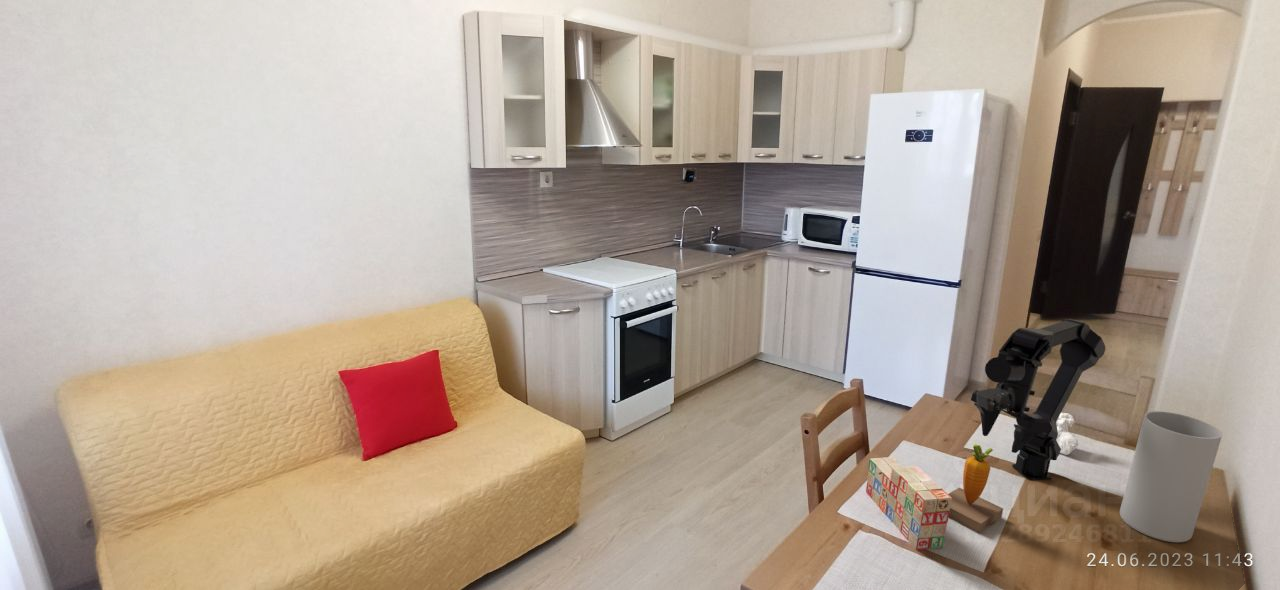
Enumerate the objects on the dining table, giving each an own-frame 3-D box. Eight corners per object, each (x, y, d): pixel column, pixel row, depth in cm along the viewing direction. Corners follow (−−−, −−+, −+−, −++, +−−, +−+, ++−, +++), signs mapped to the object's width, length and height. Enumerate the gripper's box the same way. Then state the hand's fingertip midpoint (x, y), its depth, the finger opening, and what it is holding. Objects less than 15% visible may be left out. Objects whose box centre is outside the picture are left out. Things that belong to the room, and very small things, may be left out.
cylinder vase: (1117, 527, 133) (1144, 425, 127) (1119, 502, 142) (1144, 406, 136) (1192, 552, 125) (1224, 445, 119) (1189, 524, 135) (1219, 423, 128)
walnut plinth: (957, 496, 143) (959, 487, 143) (1001, 518, 135) (1003, 508, 135) (934, 510, 138) (936, 500, 137) (978, 533, 130) (980, 523, 129)
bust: (1074, 465, 163) (1099, 431, 163) (1062, 453, 160) (1087, 419, 160) (1033, 444, 174) (1056, 413, 174) (1021, 432, 171) (1044, 400, 171)
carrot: (983, 503, 137) (996, 444, 133) (979, 513, 133) (992, 453, 129) (959, 495, 140) (971, 437, 136) (955, 504, 136) (967, 445, 132)
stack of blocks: (864, 492, 145) (870, 446, 142) (888, 490, 146) (895, 445, 142) (916, 551, 124) (924, 499, 121) (943, 548, 125) (952, 497, 122)
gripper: (961, 365, 148) (943, 424, 150) (1020, 392, 130) (1000, 458, 132) (999, 371, 150) (981, 429, 153) (1062, 398, 132) (1041, 463, 135)
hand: (998, 443), depth 143 cm, fingers open, 9 cm apart
